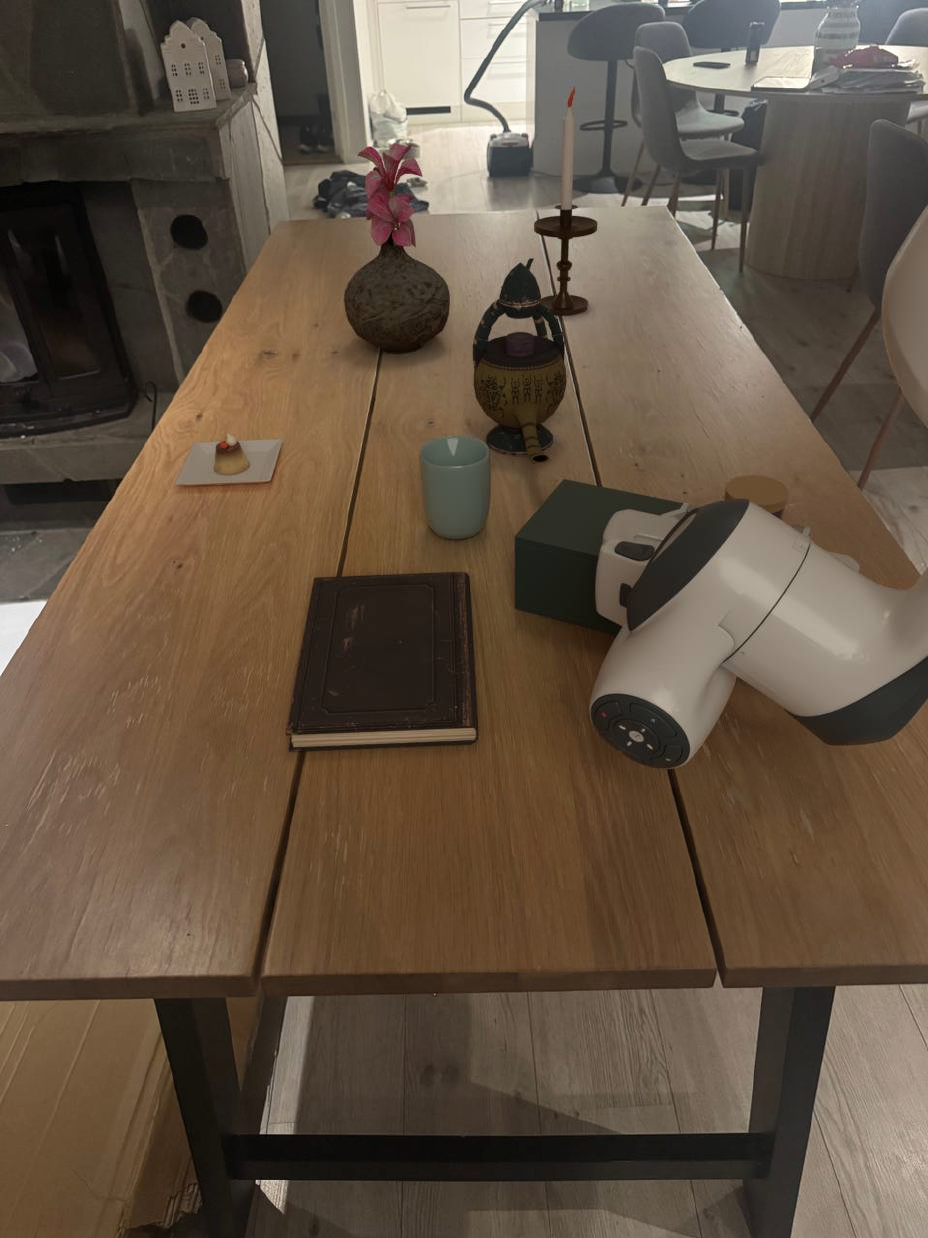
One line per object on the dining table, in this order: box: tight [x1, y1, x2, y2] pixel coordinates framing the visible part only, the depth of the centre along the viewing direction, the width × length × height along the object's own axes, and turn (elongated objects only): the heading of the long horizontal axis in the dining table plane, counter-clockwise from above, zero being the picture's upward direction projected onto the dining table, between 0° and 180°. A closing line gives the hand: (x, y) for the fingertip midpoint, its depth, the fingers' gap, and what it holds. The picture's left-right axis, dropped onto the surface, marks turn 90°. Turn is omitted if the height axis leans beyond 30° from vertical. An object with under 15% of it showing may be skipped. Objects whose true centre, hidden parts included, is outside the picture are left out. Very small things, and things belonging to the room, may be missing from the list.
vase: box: [343, 142, 451, 355], centre depth 146 cm, size 17×18×30 cm
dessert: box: [174, 433, 284, 487], centre depth 119 cm, size 12×12×5 cm
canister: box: [723, 474, 790, 522], centre depth 85 cm, size 5×5×13 cm
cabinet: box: [514, 478, 684, 637], centre depth 92 cm, size 16×13×9 cm
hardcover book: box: [284, 571, 479, 753], centre depth 87 cm, size 16×23×2 cm
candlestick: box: [533, 85, 598, 317], centre depth 157 cm, size 11×11×35 cm
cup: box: [418, 435, 492, 540], centre depth 103 cm, size 8×8×10 cm
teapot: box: [472, 257, 567, 465], centre depth 114 cm, size 12×25×23 cm, turn 6°
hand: (745, 521), depth 81 cm, fingers open, 8 cm apart
